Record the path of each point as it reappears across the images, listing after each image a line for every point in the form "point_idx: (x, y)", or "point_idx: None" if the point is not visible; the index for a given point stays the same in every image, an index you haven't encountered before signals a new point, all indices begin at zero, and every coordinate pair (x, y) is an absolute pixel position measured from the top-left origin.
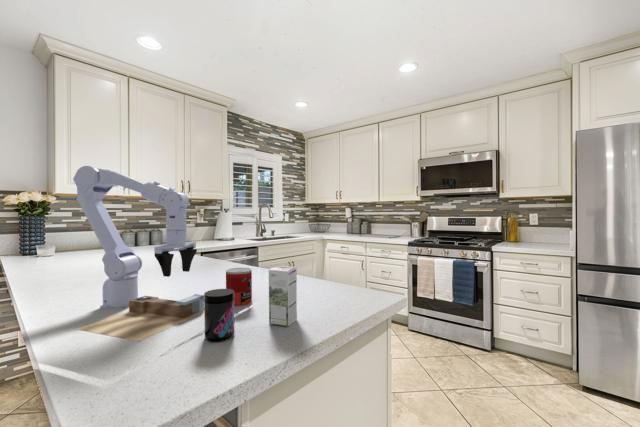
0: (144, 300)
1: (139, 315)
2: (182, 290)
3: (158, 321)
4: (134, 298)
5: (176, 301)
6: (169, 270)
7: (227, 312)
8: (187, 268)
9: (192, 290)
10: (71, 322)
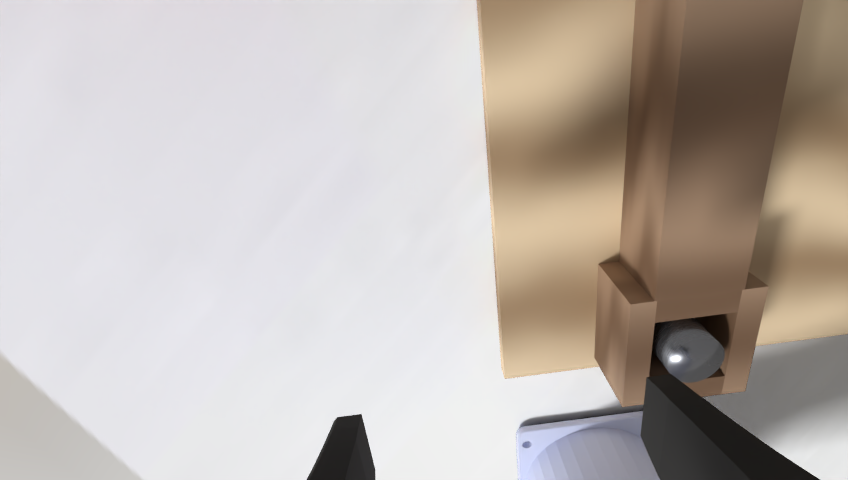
0: (701, 329)
1: None
2: (221, 475)
3: (841, 3)
4: (593, 461)
5: (698, 62)
6: (724, 421)
7: None
8: (358, 453)
9: (177, 432)
10: (834, 437)
